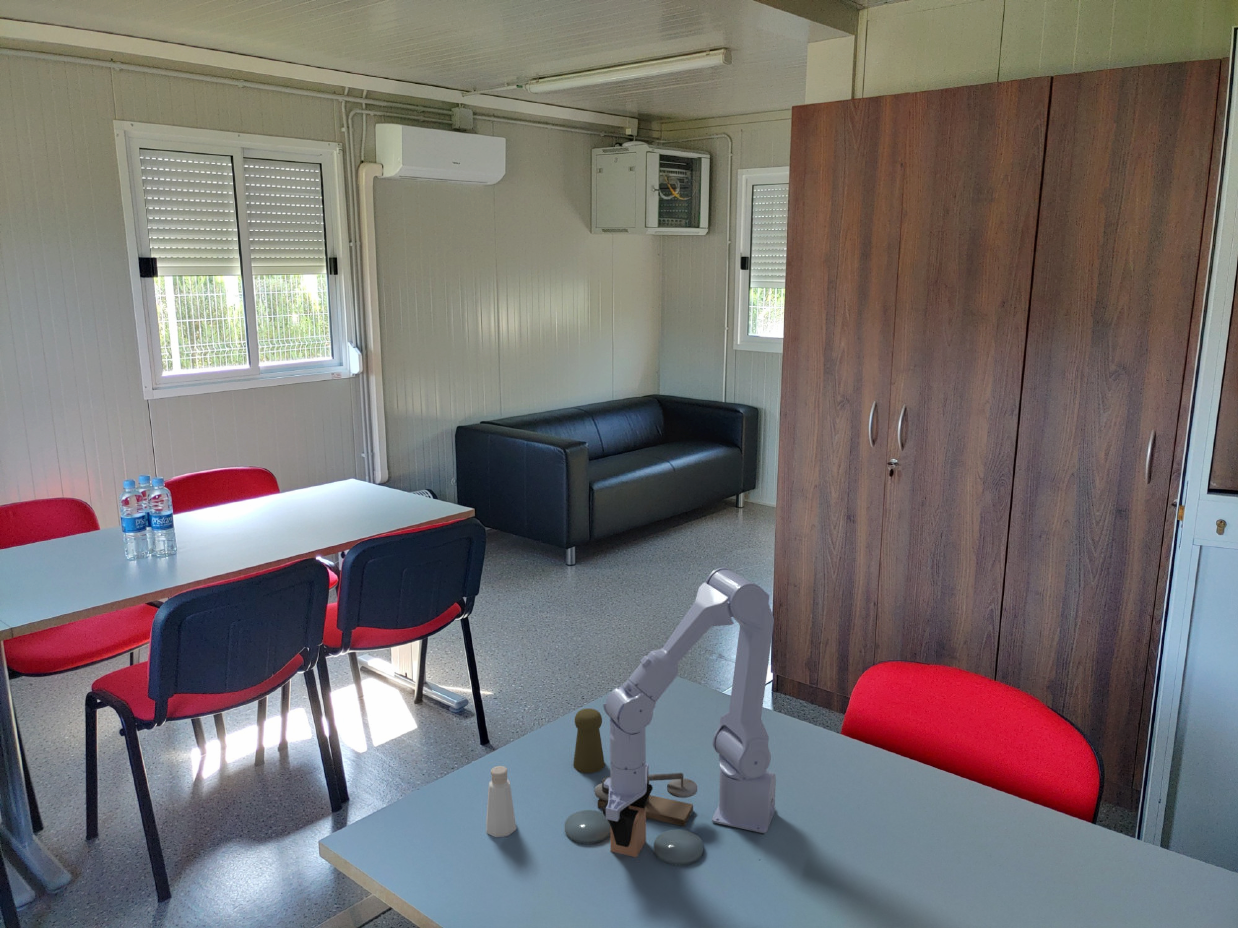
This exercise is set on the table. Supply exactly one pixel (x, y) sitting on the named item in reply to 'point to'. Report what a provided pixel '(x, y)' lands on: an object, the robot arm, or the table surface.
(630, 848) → the block
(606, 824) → the grey dome
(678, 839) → the smooth grey pebble
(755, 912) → the table surface
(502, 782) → the salt shaker
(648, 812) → the balance
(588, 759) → the cork
